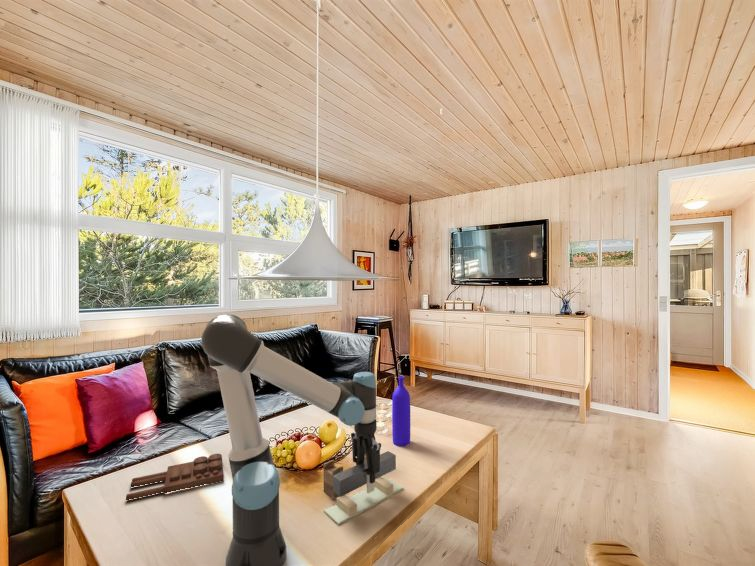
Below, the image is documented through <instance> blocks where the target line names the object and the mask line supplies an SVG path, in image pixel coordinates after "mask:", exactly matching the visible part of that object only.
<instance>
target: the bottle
mask: <svg viewBox="0 0 755 566" xmlns="http://www.w3.org/2000/svg"><path fill="white" fill-rule="evenodd" d="M397 378H398V386H397V387H396V388H395V390H394V391H393V392H392V400H391V402H392V403H391V405H392V407H391V413H392V414H391V415H392V416H391V417H392V418H391V421H392V422H391V427H392V430H391V431H392V433H391V434H392V443H393V445H395V446H397V447H406V445H407V446H409V445H410V443H411V395H410V394H411V393H410V392H409V390H408V389H407V388H406V387H405V385H404V379H405V376H403V375H402V376H401V375H400V376H398V377H397ZM408 444H409V445H408Z"/></svg>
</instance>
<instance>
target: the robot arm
mask: <svg viewBox="0 0 755 566" xmlns="http://www.w3.org/2000/svg"><path fill="white" fill-rule="evenodd" d="M206 324H207V325H206V326H205V328H204V330H203V332H202V334H201V347H202V349H203V352H204V353H205V354H206V355H207V359H208V364H209V367H210V368H212V369H213V370H216V374H217V379H218V385H219V387H220V388H219V389H220V393H221V398H222V403H223V408H224V412H225V417H226V422H227V423H226V424H227V429H228V434H229V436H230V442H231V450H230V451H229V452H228V455H227V456H228V461H229V466H230V467H229V468H230V472H231V477H232V485H231V496H232V538H231V541H230V544H229V548H228V550H227V554H226V556H225V566H282V565H285V561H286V558H287V544H286V540H285V538H284V535H283V533H282V530H281V527H280V484H281V482H280V481H281V479H280V475H279V471H278V469H277V468H276V466H275V465H274V459H273V456H272V451H271V446H270V442H269V440H268V439H266V438H265V437H263V434H262V427H261V423H260V419H259V412H258V408H257V402H256V398H255V391H254V388H253V382H252V379H251V378H252V377H251V374H253V376H256V377H258V378H259V379H262V380H264V381H266V382H268V383H270V384H271V385H273V386H275V387H278V388H280V389H282V390H283V391H286V392H287V393H290V394H292V395H293V396H295V397H297V398H299V399H301V400H303V401H305V402H307V403H309V404H311V405H313V406H315V407H317V408H319V409H321V410H323V411H325V412H327V413H328V414H330V415H332V416H334V417H336V418H338V420H339V421H340V422H341V423H343V424H344V425H346V426H354V427H353V430H354V432H351V433H350V437H351V446H352V447H351V448H352V462H353V463H355V466H356V465H358V464H360V463H363V462H364V456H365V452H366V459H367V466H368V472H367V484H366V489H367V493H370V492H372V491H374V482H375V474H376V473H378V472H379V471H380V454H381V447H382V444H381V442H378V441H376V437H375V435H376V434H375V433H376V431H377V426H378V425H377V379H376V375H375V374H374V373H373V372H371V371H360V372H356V373H354V374H353V378H352V380H346V381H338V382H330V381H329V380H326V379H325V378H323V377H321V376H319V375H317V374H316V373H314V372H312V371H310V370H309V369H306V368H305V367H304V366H302V365H299V364H298V363H296V362H294V361H292V360H291V359H288V358H287V357H285V356H283V355H281V354H280V353H277V352H276V351H274V350H272V349H270V348H268V347H266V346H265V345H264V341H263V340H262V339H260V338H258V337H257V336H255V335H254V334H253V333H251V332H250V331H249V330H248V326H247V325H246V323H245V321H244V320H243V319H242V318H241V317H239V316H237V315H234V314H231V313H230V314H229V313H228V314H221V315H217V316H215V317H213V318H212V319H211V320H209V321H208V323H206Z"/></svg>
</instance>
